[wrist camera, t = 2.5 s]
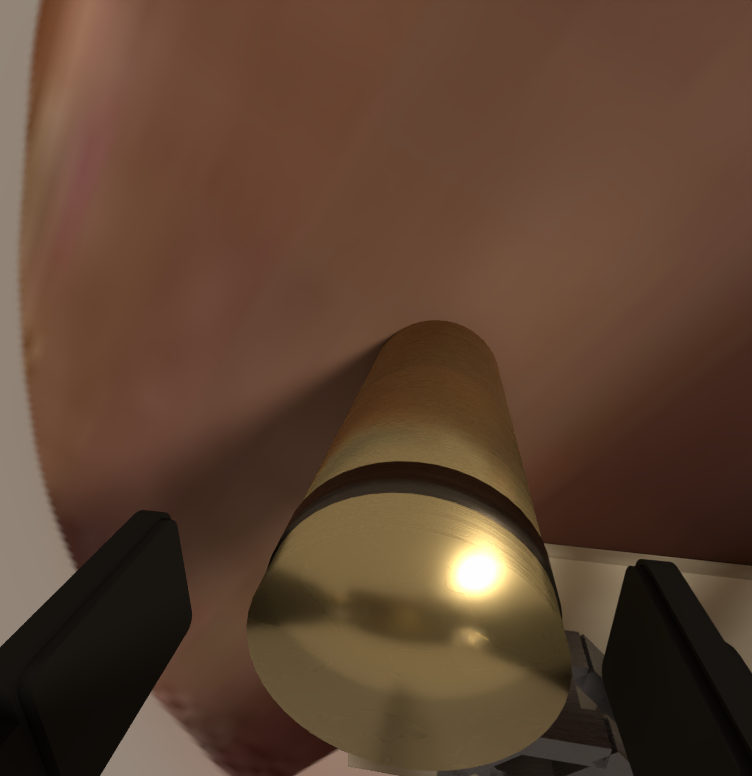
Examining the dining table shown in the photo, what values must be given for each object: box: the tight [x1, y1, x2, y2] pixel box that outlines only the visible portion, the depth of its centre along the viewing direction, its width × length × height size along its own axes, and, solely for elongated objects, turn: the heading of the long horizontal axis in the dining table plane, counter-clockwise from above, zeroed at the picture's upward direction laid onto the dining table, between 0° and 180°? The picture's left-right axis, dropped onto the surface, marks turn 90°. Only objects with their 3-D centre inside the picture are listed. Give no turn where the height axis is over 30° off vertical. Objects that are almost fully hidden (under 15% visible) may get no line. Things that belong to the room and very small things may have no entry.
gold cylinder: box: [247, 320, 572, 771], centre depth 15 cm, size 6×6×14 cm
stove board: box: [348, 543, 752, 776], centre depth 26 cm, size 20×18×1 cm
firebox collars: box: [437, 630, 633, 776], centre depth 23 cm, size 9×9×6 cm
